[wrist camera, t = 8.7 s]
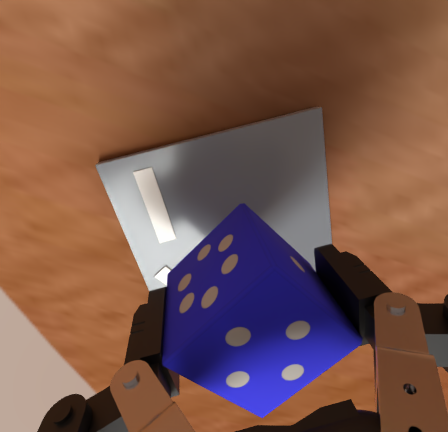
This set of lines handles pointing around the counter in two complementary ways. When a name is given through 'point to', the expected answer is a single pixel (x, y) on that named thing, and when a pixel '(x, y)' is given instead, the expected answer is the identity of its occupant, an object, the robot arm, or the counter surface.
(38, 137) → the counter surface
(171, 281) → the die
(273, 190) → the tile
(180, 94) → the counter surface
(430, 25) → the counter surface
